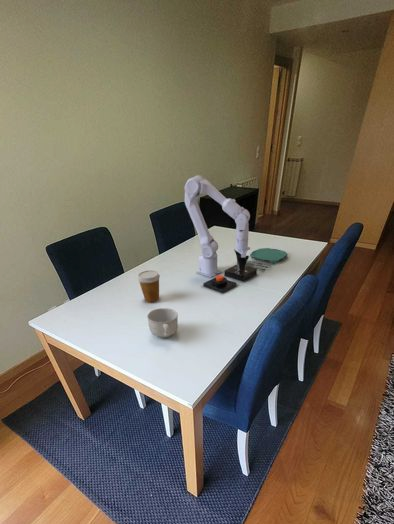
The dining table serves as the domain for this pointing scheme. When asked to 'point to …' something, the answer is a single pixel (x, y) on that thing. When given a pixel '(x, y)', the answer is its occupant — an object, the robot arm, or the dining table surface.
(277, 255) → the green plate with cutlery
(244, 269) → the oven dial
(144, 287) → the disposable coffee cup
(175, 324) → the teacup
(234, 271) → the dial panel
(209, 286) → the button housing
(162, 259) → the dining table surface
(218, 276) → the button
